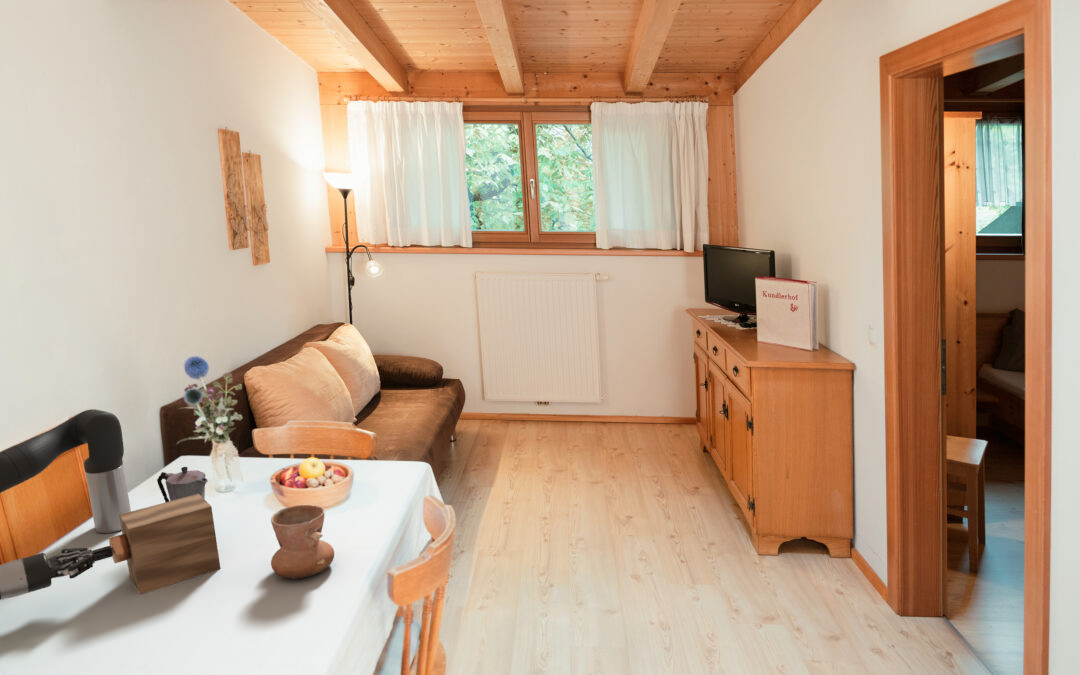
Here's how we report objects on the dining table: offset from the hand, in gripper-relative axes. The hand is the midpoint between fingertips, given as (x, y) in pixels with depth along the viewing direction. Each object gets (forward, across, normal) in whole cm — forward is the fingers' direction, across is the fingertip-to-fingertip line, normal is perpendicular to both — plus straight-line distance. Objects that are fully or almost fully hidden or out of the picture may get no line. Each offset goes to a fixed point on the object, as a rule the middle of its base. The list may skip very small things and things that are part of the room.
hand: (111, 550), depth 185 cm
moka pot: (+20, +18, +10) cm, 29 cm away
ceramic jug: (+36, -20, +10) cm, 43 cm away
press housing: (+12, 0, +10) cm, 16 cm away
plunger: (+11, 0, +3) cm, 11 cm away
